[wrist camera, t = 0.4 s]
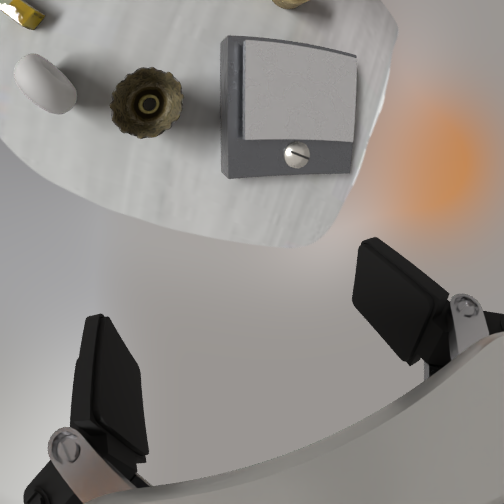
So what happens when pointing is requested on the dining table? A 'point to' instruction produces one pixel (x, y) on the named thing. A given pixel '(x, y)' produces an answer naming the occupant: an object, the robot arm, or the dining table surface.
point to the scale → (268, 150)
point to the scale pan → (297, 93)
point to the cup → (136, 92)
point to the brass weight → (289, 3)
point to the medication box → (22, 13)
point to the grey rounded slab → (45, 84)
